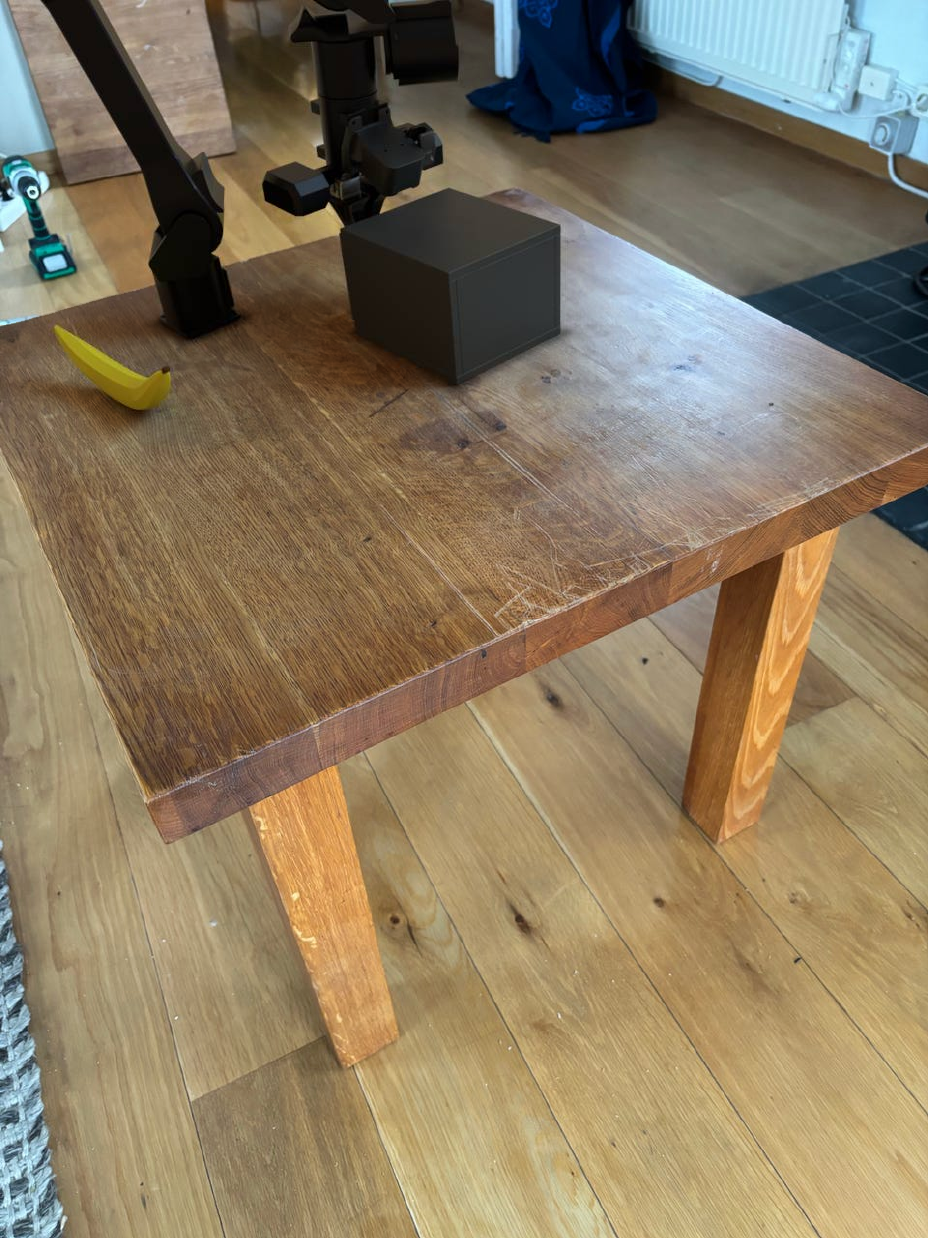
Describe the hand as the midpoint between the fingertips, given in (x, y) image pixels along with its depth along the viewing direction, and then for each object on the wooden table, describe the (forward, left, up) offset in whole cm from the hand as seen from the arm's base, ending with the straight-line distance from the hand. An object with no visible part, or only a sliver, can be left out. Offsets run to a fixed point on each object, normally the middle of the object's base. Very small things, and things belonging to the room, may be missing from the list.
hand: (364, 251), depth 101 cm
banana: (-30, -1, -5) cm, 30 cm away
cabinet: (0, -14, -5) cm, 15 cm away
